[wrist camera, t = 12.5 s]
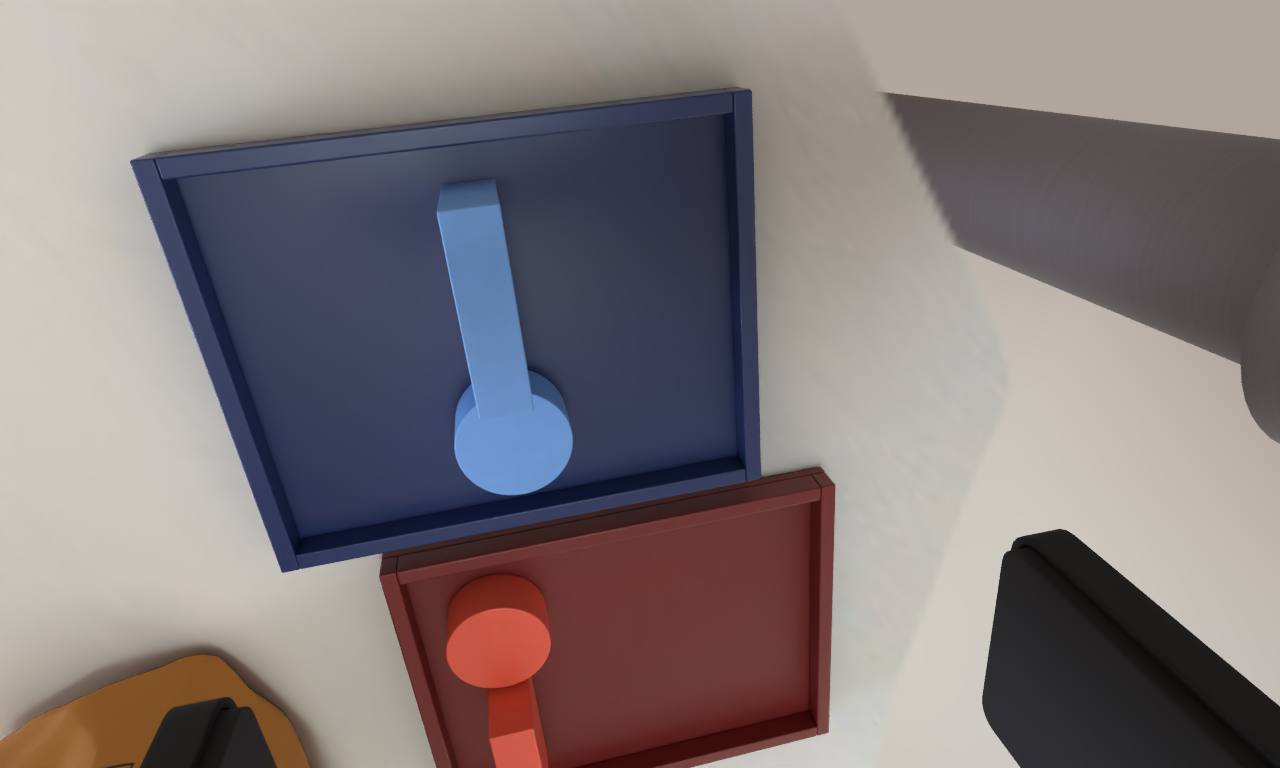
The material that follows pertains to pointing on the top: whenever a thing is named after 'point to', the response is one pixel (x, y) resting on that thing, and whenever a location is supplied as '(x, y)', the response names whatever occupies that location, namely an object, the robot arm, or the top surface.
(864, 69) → the top surface
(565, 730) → the maroon tray
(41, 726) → the coffee package
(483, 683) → the coral spoon
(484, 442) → the blue spoon
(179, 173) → the navy tray
